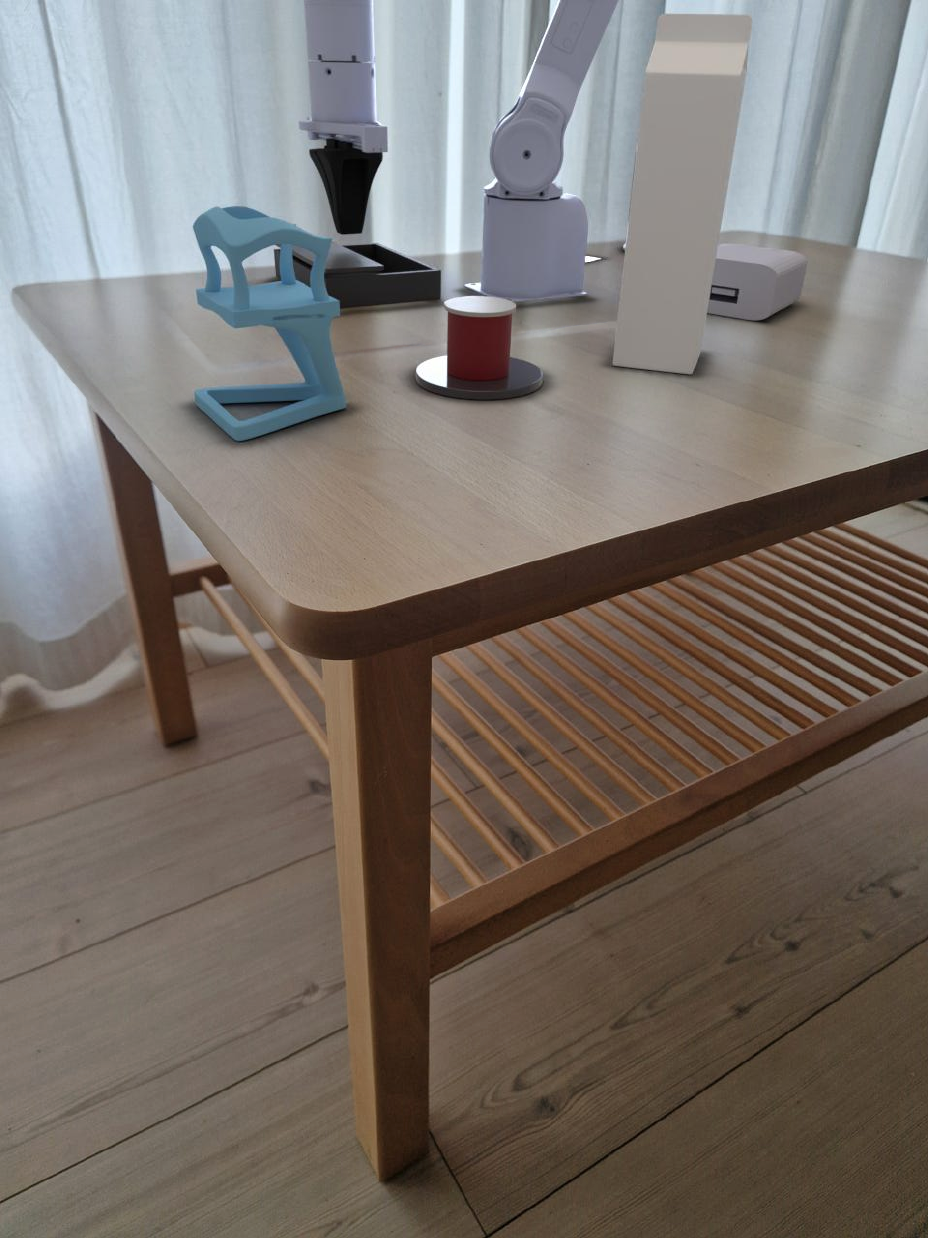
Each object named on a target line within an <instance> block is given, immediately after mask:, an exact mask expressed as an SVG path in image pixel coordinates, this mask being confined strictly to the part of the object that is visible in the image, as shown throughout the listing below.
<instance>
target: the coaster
mask: <svg viewBox="0 0 928 1238" xmlns="http://www.w3.org/2000/svg"><path fill="white" fill-rule="evenodd" d="M543 379H544V373H543V371H542V370H541V368H540V367H538V366H537V365H536V364H535V363H533V362H532V363H531V362H529V361H526V360H524V359H521V358H516V357H512V356H510V367H509V374H508V375H507V376H506V377H503V378H500V379H496V380H489V381H473V380H465V379H460V378H456V377H454V376H451V375H450V374H449V373H448V372H447V354H446V355H441V356H436V357H432V358H430V359H427V360H425V361H423V362H421V363H419V364H418V365H417V366H416V368H415V382H416V383H417V384H418V386H420V387H421V388H422V389H424V390H426V391H429V392H431V393H434V394H437V395H441V396H446V397H450V398H456V399H462V400H463V399H465V400H477V401H479V400H480V401H481V400H483V401H489V400H491V401H492V400H494V401H495V400H504V399H506V400H507V399H512V398H517V397H518V398H519V397H523V396H526V395H529V394H532V393H533V392H535V391H537V390H539V388H541V386H542V385H543V381H544V380H543Z"/></svg>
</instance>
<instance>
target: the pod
mask: <svg viewBox="0 0 928 1238" xmlns="http://www.w3.org/2000/svg"><path fill="white" fill-rule="evenodd" d="M443 308H444V310H445V311H446V312H447V328H446V329H447V331H446V334H447V335H446V336H447V337H446V344H447V345H446V355H447V372H448V373H449V374H450V375H451V376H454V377H456V378H460V379H465V380H473V381H489V380H496V379H500V378H503V377H506V376H507V375H508V374H509V367H510V357H511V344H512V330H513V329H512V326H513V314H514V313H516V311H517V303H516V302H512V301H510V300H507V299H503V298H497V297H489V296H484V295H465V296H457V297H451V298H449V299H447V300H445V301H444V302H443Z"/></svg>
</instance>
